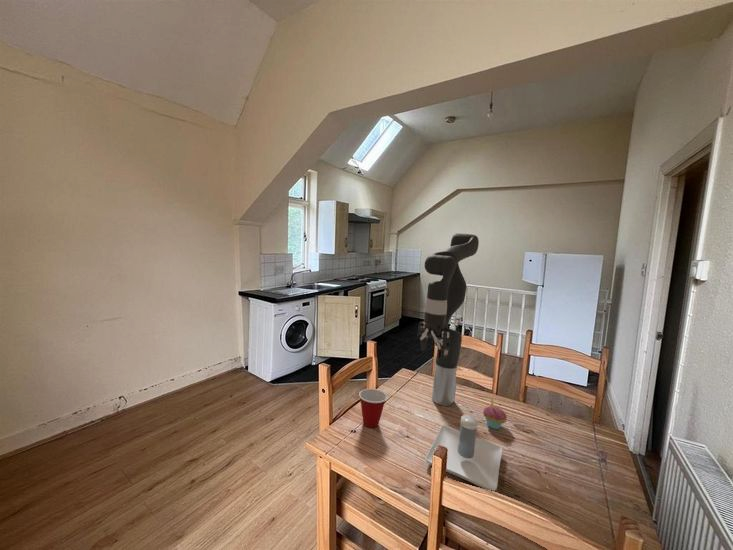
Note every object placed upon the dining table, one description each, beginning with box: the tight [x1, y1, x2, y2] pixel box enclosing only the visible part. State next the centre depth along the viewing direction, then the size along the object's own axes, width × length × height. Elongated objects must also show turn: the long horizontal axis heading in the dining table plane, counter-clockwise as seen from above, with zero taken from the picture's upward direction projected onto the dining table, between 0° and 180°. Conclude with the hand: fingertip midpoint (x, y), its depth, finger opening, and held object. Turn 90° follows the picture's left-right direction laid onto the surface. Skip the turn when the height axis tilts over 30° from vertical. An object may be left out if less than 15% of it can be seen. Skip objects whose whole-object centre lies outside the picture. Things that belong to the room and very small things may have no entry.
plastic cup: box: [358, 388, 388, 429], centre depth 112 cm, size 11×11×12 cm
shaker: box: [458, 414, 479, 458], centre depth 96 cm, size 5×5×12 cm
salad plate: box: [424, 424, 504, 492], centre depth 97 cm, size 21×21×3 cm
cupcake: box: [483, 396, 508, 430], centre depth 116 cm, size 9×8×12 cm
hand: (431, 354), depth 107 cm, fingers open, 8 cm apart
